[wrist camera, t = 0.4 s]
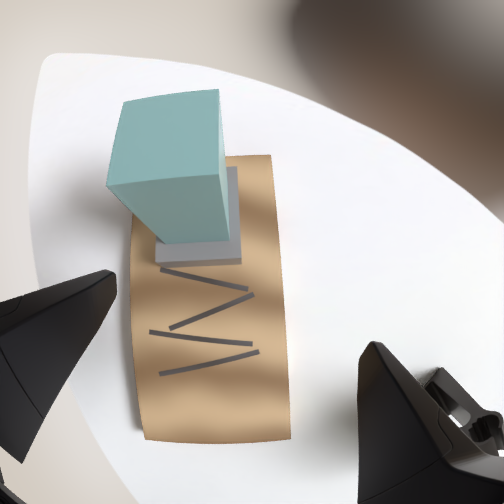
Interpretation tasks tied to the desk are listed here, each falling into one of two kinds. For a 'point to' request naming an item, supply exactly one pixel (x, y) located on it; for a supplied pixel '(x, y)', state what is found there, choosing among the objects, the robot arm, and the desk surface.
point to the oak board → (214, 331)
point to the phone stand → (467, 412)
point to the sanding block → (178, 178)
